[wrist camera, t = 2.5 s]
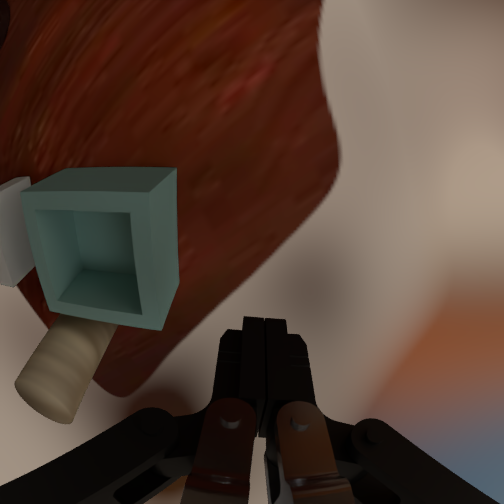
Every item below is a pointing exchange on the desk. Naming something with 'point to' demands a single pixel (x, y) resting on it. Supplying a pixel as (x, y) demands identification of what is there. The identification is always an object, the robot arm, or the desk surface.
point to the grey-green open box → (106, 242)
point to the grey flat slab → (14, 234)
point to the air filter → (4, 20)
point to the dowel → (64, 366)
